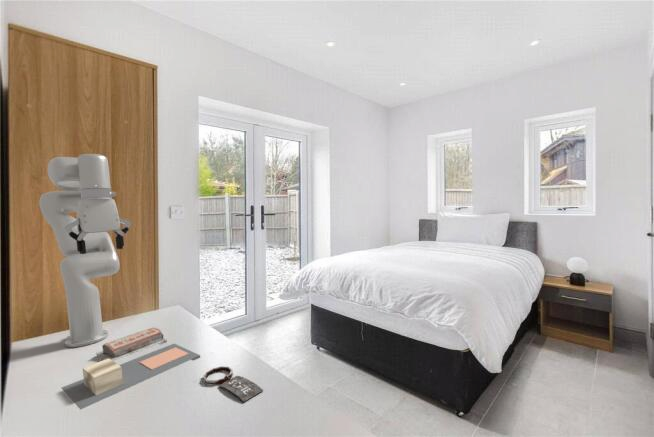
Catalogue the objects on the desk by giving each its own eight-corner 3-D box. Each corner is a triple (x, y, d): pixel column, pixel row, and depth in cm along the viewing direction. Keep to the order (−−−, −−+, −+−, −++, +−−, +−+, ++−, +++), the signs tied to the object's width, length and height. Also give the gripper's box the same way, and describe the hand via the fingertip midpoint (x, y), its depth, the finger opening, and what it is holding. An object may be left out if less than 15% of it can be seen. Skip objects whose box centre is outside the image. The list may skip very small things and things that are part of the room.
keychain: (238, 408, 72) (237, 400, 72) (197, 381, 84) (197, 373, 84) (265, 391, 78) (265, 383, 78) (223, 368, 90) (223, 361, 90)
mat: (61, 389, 83) (61, 386, 83) (174, 345, 107) (174, 342, 107) (81, 411, 73) (80, 408, 73) (200, 357, 97) (200, 354, 97)
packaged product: (152, 324, 115) (166, 329, 109) (154, 337, 116) (167, 343, 110) (94, 343, 101) (106, 350, 95) (96, 358, 101) (107, 366, 95)
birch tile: (84, 384, 84) (82, 367, 84) (110, 373, 89) (108, 358, 88) (96, 395, 78) (94, 377, 78) (122, 383, 83) (121, 366, 83)
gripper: (123, 196, 105) (128, 247, 106) (56, 197, 91) (62, 255, 92) (132, 194, 101) (137, 247, 101) (64, 194, 87) (70, 256, 87)
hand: (102, 251), depth 96 cm, fingers open, 9 cm apart
